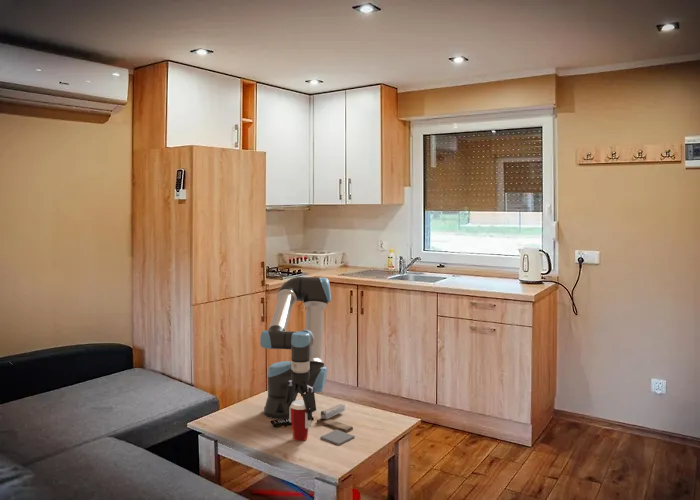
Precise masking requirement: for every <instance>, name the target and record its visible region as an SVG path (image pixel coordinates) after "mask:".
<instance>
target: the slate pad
mask: <svg viewBox="0 0 700 500" xmlns="http://www.w3.org/2000/svg"><path fill="white" fill-rule="evenodd" d="M353 439H355V435H353V434H351V433H350V434H349V433H348V432H347V433H346V432H343V431H340V430H337V429H335V430H332V431H330V432H328V433H325V434H323V435H322V436H320V440H323V441H326V442H328V443H331V444H334V445H337V446H341V445H343V444H345V443H347V442H349V441H351V440H353Z"/></svg>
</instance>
